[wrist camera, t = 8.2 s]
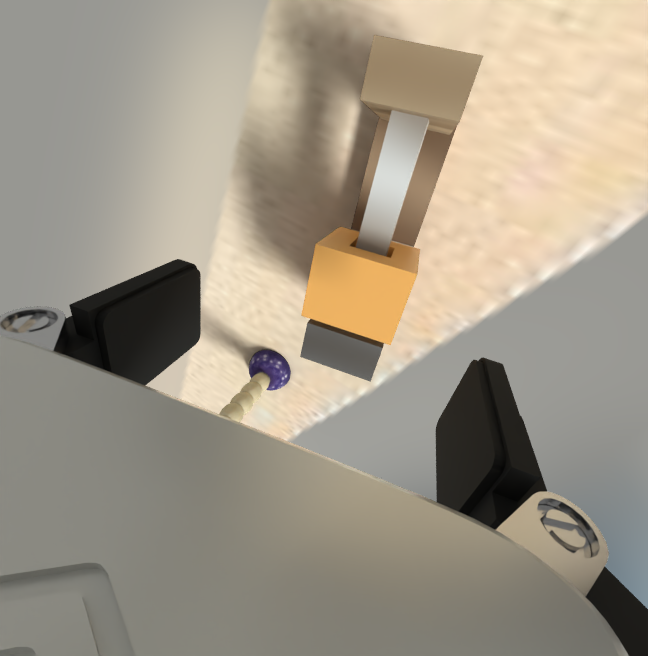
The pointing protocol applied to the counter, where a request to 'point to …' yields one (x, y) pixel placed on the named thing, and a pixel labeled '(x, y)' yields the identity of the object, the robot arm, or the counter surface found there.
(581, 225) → the counter surface
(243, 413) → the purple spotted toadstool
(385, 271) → the sleeve
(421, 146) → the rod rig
